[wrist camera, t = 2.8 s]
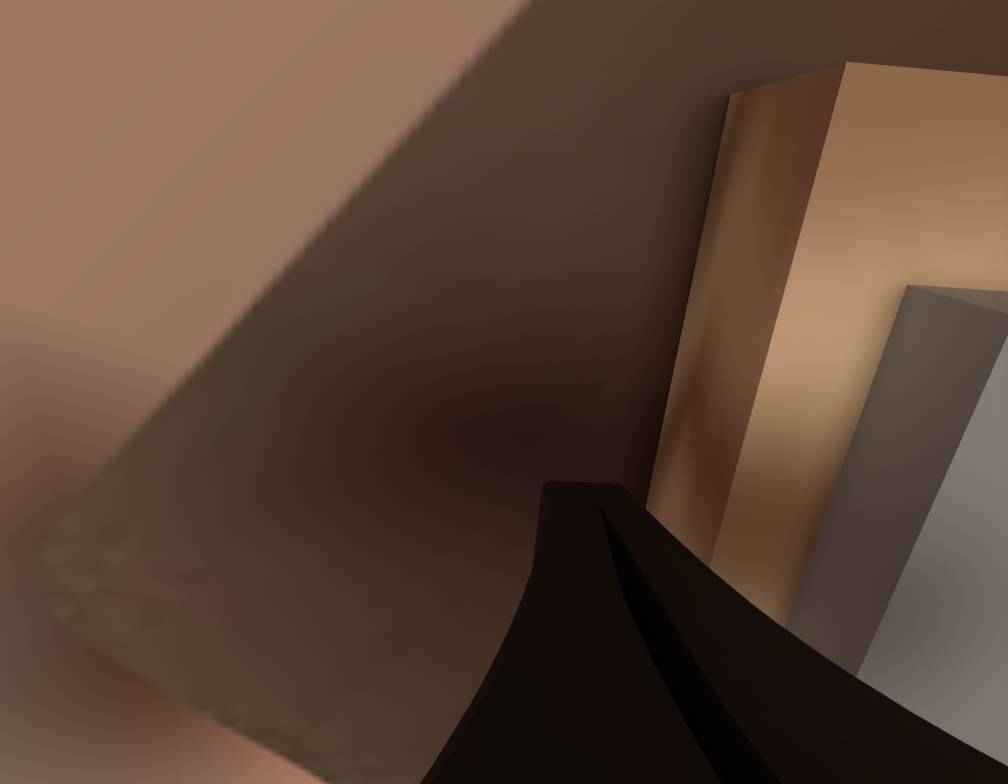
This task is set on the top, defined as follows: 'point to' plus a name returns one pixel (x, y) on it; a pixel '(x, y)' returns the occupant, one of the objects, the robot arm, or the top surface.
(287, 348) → the top surface
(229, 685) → the top surface
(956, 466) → the grey rectangular block
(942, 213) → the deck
